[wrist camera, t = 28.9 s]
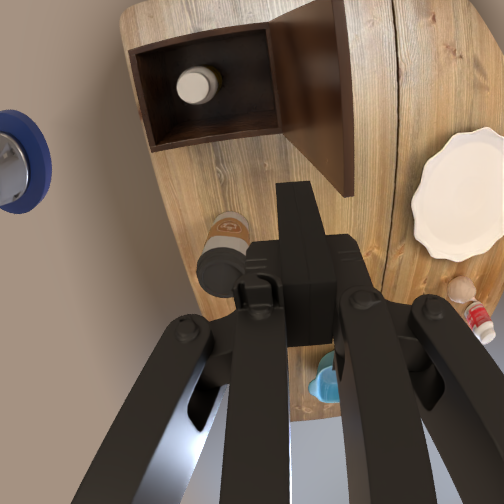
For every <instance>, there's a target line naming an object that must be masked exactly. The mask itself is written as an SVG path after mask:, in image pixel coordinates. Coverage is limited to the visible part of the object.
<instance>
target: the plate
mask: <svg viewBox="0 0 504 504" xmlns="http://www.w3.org/2000/svg"><path fill="white" fill-rule="evenodd" d="M411 208H412V212H413V216H414V236H415V238H416V240H418V241H419V242H420V243H421V244H423V245H424V246H425V247H426V249H427V250H428V252H429V254H430V256H431V257H433V258H435V259H449V260H451V261H454V262H462V261H464V260H466V259H468V258H470V257H472V256H475V255H479V254H483V253H485V252H487V251H488V250H489V249H490V248H491V247H492V246H493V245H494V244H495V242H496V241H497V240H498V239H500V238H501V237H502V236H503V235H504V137H503V136H500V135H499V134H497V133H496V132H495V131H494V130H492V129H491V128H489V127H482V128H480V129H477V130H475V131H472V132H461V133H456V134H454V135H452V136H451V137H450V139H449V140H448V141H447V143H446V144H445V145H444V147H443V148H442V149H441V150H440V151H439V152H437V153H436V154H435V155H433V156H432V157H431V158H429V159H428V160H427V162H426V163H425V165H424V167H423V171H422V175H421V180H420V183H419V185H418V187H417V189H416V191H415V193H414V195H413V197H412V199H411Z"/></svg>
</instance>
